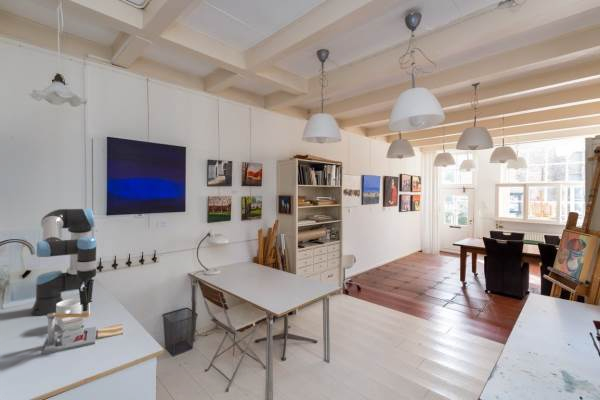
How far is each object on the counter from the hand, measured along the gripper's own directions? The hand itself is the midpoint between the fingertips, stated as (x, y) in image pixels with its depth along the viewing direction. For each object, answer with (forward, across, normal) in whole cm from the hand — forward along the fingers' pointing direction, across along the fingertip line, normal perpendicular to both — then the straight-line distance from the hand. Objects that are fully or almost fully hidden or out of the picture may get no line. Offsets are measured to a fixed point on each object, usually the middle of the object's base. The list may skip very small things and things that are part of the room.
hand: (86, 316), depth 140 cm
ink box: (+14, -4, -7) cm, 16 cm away
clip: (-1, 0, -7) cm, 7 cm away
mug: (+14, -22, -15) cm, 30 cm away
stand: (+13, -4, -7) cm, 16 cm away
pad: (+14, -10, +8) cm, 18 cm away
